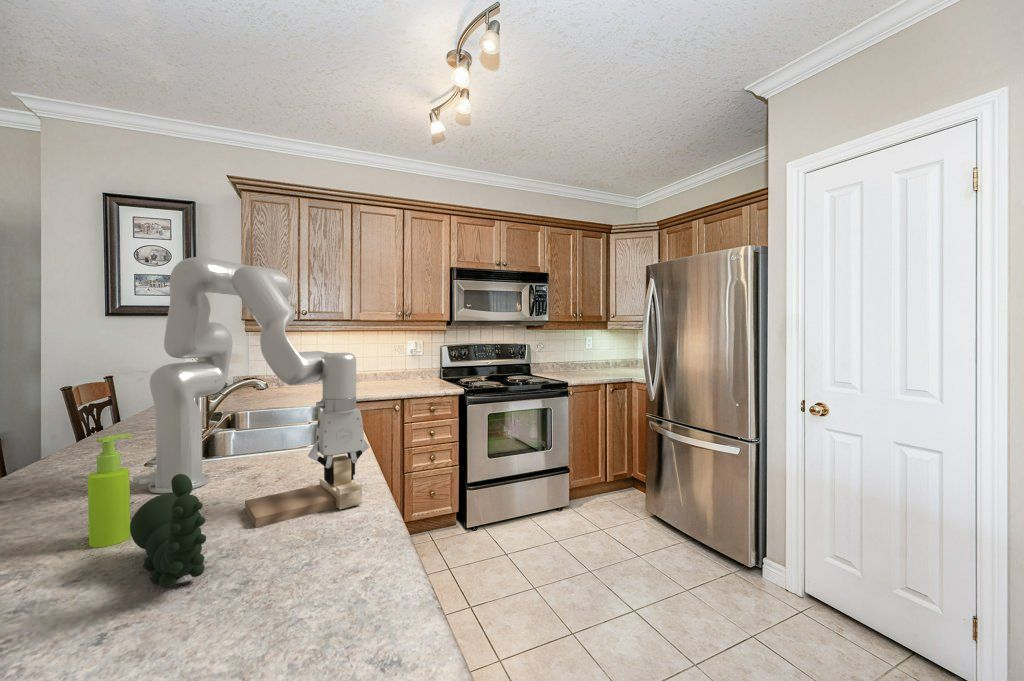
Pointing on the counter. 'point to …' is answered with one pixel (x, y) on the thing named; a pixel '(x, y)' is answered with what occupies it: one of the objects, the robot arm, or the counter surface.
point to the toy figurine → (171, 533)
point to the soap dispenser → (109, 497)
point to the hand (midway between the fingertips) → (339, 480)
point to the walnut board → (289, 505)
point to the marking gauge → (343, 484)
